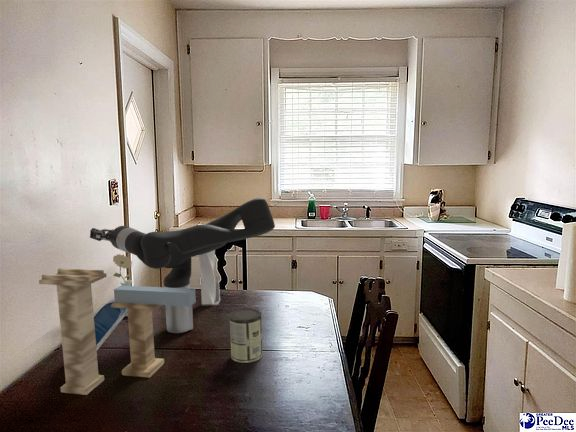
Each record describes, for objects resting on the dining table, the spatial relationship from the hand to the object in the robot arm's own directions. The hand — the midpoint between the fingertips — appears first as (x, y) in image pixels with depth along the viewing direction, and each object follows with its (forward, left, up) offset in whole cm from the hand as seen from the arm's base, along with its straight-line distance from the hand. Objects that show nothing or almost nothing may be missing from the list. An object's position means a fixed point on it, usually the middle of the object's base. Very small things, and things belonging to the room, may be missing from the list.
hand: (105, 231), depth 146 cm
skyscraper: (-40, -26, -40) cm, 62 cm away
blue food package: (+10, +10, -37) cm, 40 cm away
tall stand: (+9, +27, -40) cm, 49 cm away
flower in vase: (-6, -29, -40) cm, 50 cm away
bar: (-12, +27, -18) cm, 35 cm away
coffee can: (-39, +29, -40) cm, 63 cm away
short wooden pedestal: (-8, +24, -40) cm, 47 cm away
